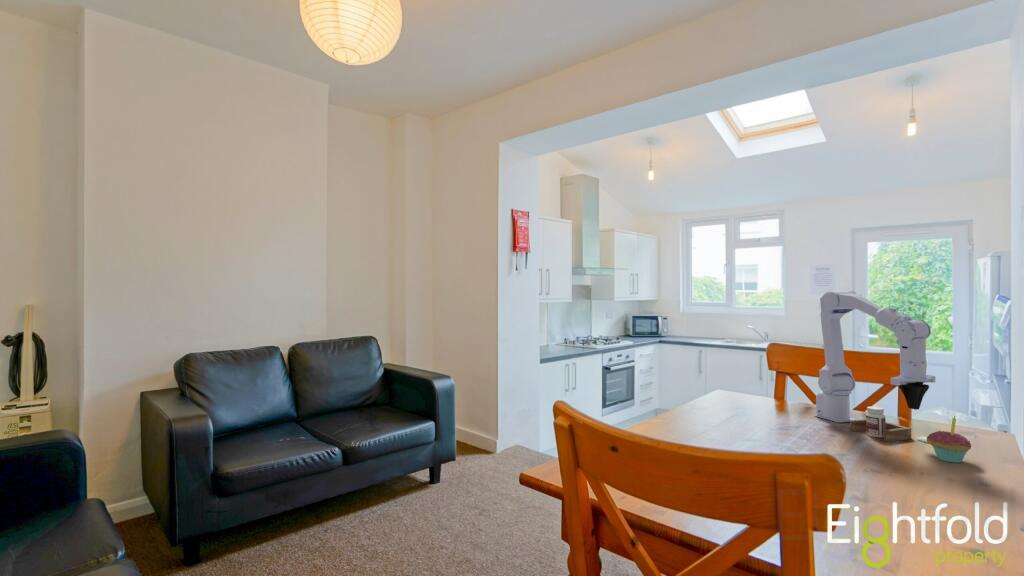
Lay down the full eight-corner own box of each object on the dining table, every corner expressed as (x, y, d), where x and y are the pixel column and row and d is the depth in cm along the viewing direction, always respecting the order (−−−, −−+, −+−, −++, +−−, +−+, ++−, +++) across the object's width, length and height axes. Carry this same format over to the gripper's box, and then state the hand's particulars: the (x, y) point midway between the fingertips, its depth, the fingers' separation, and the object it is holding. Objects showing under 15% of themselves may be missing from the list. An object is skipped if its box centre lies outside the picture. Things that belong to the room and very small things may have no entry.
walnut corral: (850, 430, 148) (850, 421, 149) (872, 428, 151) (872, 418, 151) (888, 441, 138) (887, 431, 138) (911, 438, 140) (911, 428, 140)
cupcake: (981, 465, 118) (980, 417, 118) (947, 465, 119) (946, 418, 119) (950, 453, 127) (949, 409, 127) (918, 453, 127) (917, 409, 127)
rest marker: (911, 438, 140) (911, 437, 140) (926, 437, 141) (926, 436, 141) (934, 445, 134) (934, 444, 134) (949, 443, 135) (949, 442, 135)
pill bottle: (879, 433, 146) (878, 406, 146) (889, 437, 141) (889, 409, 141) (862, 432, 146) (862, 405, 146) (872, 437, 141) (871, 409, 142)
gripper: (908, 365, 130) (909, 414, 130) (947, 362, 134) (947, 410, 134) (882, 361, 137) (883, 408, 137) (919, 358, 141) (920, 404, 141)
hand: (913, 408), depth 136 cm, fingers closed
